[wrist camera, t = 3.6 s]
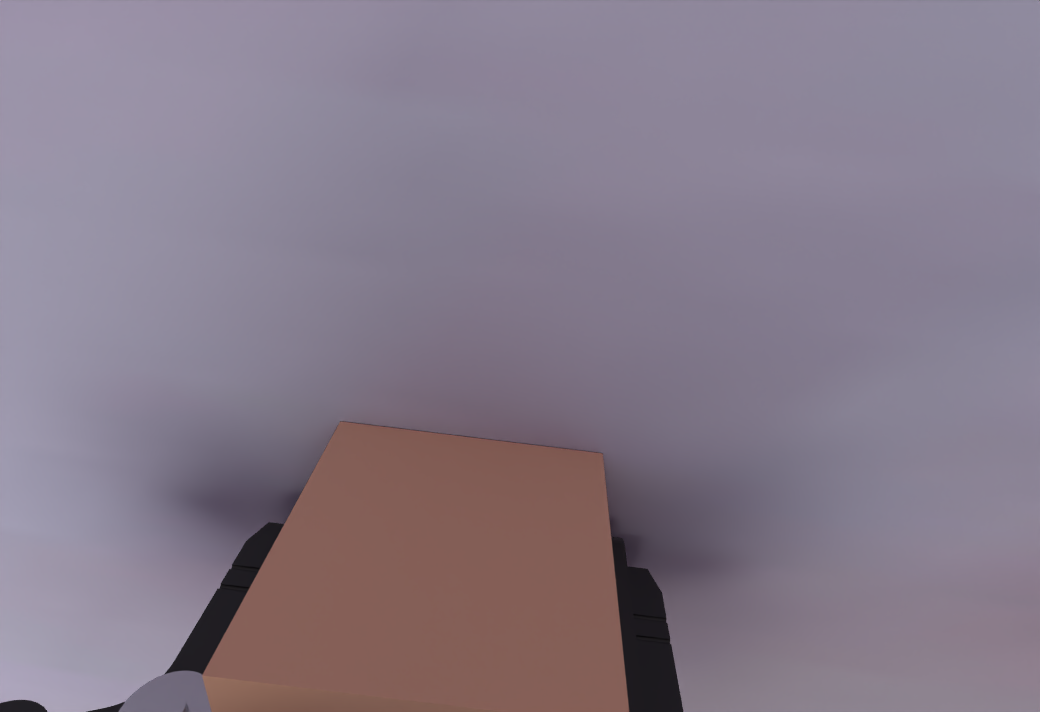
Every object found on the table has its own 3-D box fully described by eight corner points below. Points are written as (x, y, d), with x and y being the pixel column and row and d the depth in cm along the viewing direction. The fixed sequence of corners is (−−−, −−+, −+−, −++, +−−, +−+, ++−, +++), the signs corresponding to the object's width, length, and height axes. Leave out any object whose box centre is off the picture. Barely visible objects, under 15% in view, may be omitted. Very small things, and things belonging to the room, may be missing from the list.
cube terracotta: (602, 453, 11) (630, 727, 7) (564, 622, 14) (566, 902, 9) (340, 421, 11) (201, 675, 7) (349, 596, 14) (251, 864, 9)
